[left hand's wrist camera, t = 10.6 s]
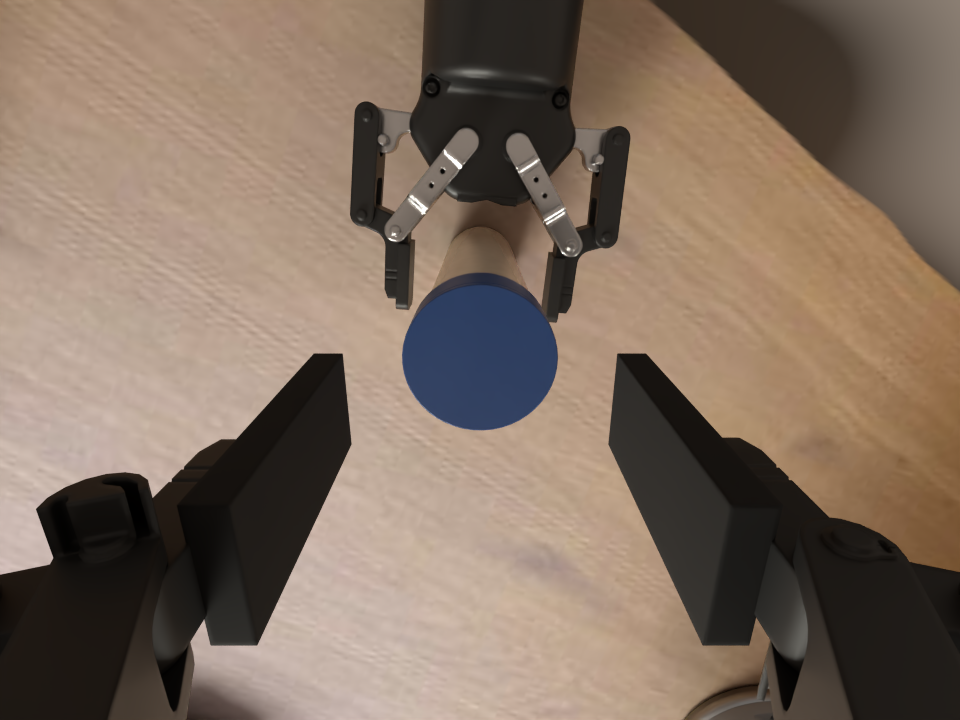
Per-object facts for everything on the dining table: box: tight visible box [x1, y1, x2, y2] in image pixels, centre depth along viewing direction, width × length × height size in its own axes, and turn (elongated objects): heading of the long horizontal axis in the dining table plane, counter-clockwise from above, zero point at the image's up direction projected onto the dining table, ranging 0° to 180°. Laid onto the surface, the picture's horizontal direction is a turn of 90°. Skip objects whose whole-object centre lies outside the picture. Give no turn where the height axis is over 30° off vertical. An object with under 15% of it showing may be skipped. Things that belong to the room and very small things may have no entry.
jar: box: [432, 227, 528, 290], centre depth 26 cm, size 5×5×19 cm
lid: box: [402, 273, 558, 430], centre depth 18 cm, size 5×5×2 cm
